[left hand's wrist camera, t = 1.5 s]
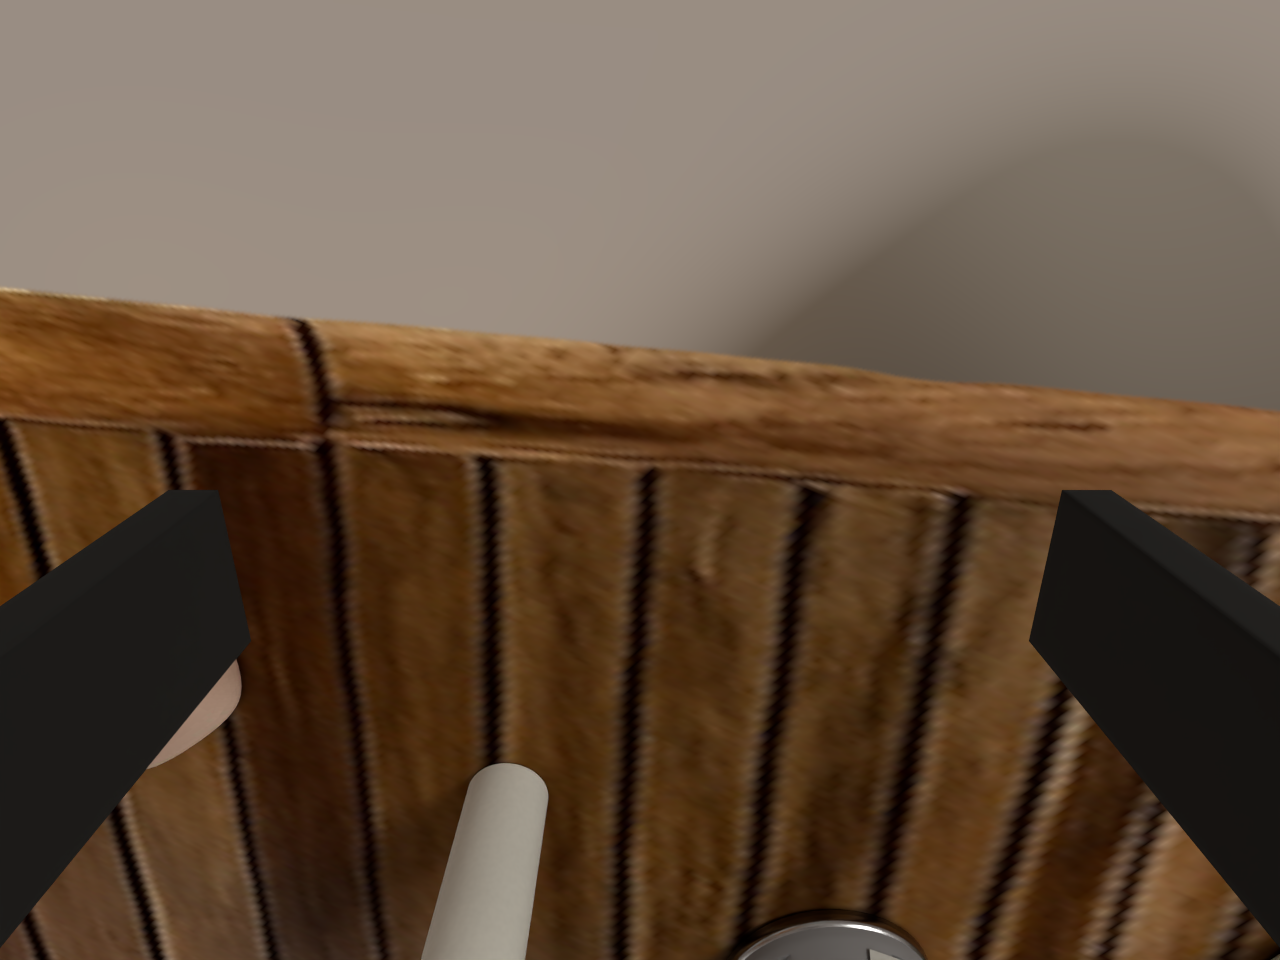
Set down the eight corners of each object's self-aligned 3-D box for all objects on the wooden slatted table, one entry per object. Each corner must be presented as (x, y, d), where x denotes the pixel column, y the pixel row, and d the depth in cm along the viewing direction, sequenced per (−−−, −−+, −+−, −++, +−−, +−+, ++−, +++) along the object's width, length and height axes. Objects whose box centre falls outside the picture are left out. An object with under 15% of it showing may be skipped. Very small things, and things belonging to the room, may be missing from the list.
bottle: (453, 778, 50) (351, 1115, 32) (525, 752, 49) (461, 1083, 31) (491, 834, 51) (414, 1183, 34) (561, 809, 51) (520, 1154, 33)
